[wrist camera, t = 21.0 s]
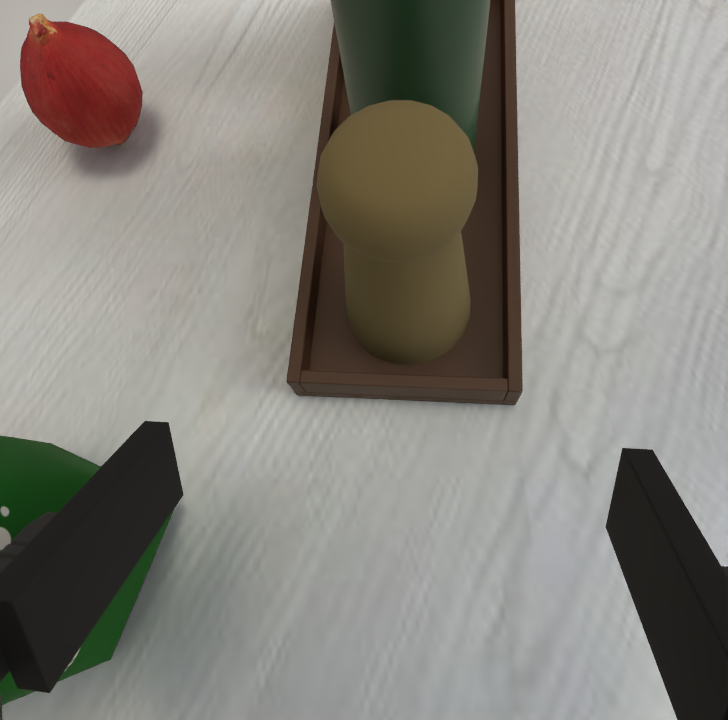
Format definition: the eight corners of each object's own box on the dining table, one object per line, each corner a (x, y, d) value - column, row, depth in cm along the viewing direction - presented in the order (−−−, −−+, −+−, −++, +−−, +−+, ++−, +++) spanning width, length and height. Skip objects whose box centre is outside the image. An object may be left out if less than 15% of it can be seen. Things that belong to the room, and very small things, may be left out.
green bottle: (473, 116, 30) (523, -386, 14) (472, 209, 28) (528, -254, 12) (365, 119, 31) (295, -354, 15) (356, 209, 29) (265, -225, 13)
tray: (509, -7, 34) (514, -42, 32) (515, 405, 25) (522, 392, 23) (345, 2, 35) (340, -31, 33) (296, 395, 26) (286, 382, 24)
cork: (414, 230, 28) (404, 37, 18) (498, 310, 26) (542, 144, 15) (321, 302, 27) (254, 144, 17) (400, 390, 25) (379, 272, 15)
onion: (57, 165, 33) (-53, 49, 25) (104, 93, 34) (14, -35, 27) (137, 187, 32) (47, 73, 24) (182, 112, 33) (110, -18, 26)
